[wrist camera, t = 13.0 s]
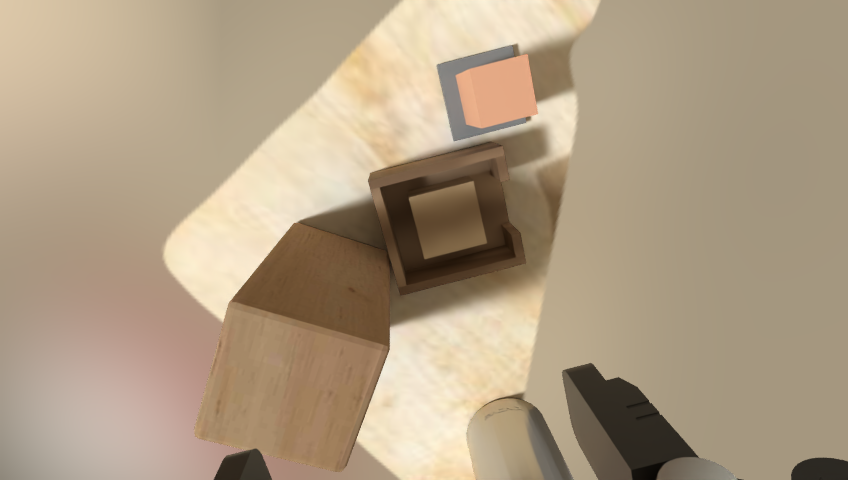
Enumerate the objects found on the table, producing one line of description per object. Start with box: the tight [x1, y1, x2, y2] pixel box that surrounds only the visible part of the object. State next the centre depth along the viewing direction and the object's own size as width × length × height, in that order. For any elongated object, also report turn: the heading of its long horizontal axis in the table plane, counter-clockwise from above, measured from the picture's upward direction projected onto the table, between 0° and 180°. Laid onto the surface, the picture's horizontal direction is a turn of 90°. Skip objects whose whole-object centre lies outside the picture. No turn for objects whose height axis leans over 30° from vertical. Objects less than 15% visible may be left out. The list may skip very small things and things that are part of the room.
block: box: [456, 54, 538, 128], centre depth 41 cm, size 4×4×8 cm
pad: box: [437, 46, 526, 141], centre depth 45 cm, size 7×7×1 cm
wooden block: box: [194, 223, 390, 472], centre depth 39 cm, size 10×10×20 cm
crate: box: [368, 142, 526, 296], centre depth 45 cm, size 11×12×5 cm
